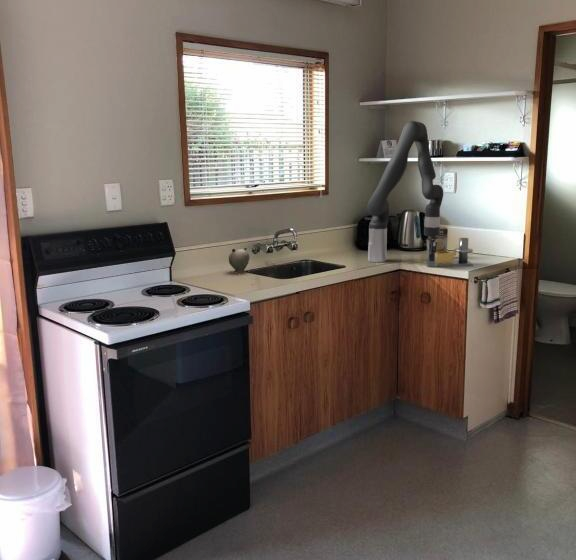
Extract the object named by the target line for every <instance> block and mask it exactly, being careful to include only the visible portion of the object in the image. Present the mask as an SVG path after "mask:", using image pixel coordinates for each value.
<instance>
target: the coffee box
mask: <svg viewBox="0 0 576 560" xmlns="http://www.w3.org/2000/svg"><path fill="white" fill-rule="evenodd" d="M435 239H436V242H437V247H436V251H448V249H447V248H448V228H446V227H440V235H439V236H435Z"/></svg>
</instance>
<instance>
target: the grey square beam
mask: <svg viewBox="0 0 576 560" xmlns="http://www.w3.org/2000/svg"><path fill="white" fill-rule="evenodd" d="M430 247H431V246H430ZM432 250H434V249H432ZM426 251H427V254H426V267H428V268H435V267H436V265H435V254H434V261H430V253H429V252H430V249H429V245H428V248H427V247H426Z"/></svg>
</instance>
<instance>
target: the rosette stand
mask: <svg viewBox="0 0 576 560" xmlns="http://www.w3.org/2000/svg"><path fill="white" fill-rule="evenodd" d="M458 242H459V243H458V248H457V247H456V248H454V250H453V251H450V250H447V251H436V253H435V267H474V262H471V261H470V260H468V259H469V256H468V255H469V253H470V254H471V253H473V252H474V250H473V248H469V237H459V239H458ZM457 253H458V259H454V257H455V256H457Z"/></svg>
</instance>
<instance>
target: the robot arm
mask: <svg viewBox="0 0 576 560" xmlns="http://www.w3.org/2000/svg"><path fill="white" fill-rule="evenodd" d="M427 129H428V128H427V126H426V125H425V123H423V122H420V121H416V120H415V121H414V120H411V121H408V122H407V123H406V124H405V125H404V126H403V128H402V131H401V135H400V137H399V139H398V142H397V145H396V147H395V149H394V151H393V153H392V155H391V157H390V159H389V161H388V163H387V166H386V167H385V169H384V172H383V174H382V176H381V178H380V180H379V182H378V184H377V187H376V189H375V190H374V191H373V193H372V195H371V197H370V198H369V200H368V201H367V205H366V210H367V213H368V214H369V215H370V216H371V220H370V222H369V225H368V244H367V245H368V247H367V248H368V249H367V251H368V252H367V256H368V257H367V260H368V262H371V263H372V262H373V263H383V262H386V261H387V243H388V241H387V239H388V238H387V237H388V235H387V234H388V223H389V220H390V219H389V218H390V217H389V216H390V205H389V204H390V203H389V201H388V198H389V195H390V193H391V192H392V191H393V190H394V188H395V187H396V186H397V185H398V183H400V181H401V179H402V178H403V176H404V174H405V172H406V169H407V167H408V158H409V153H410V150H411V148H412V146H413V144H415V146H416V149H417V167H418V171H419V175H420V178H421V193H422V196H423V197H424V199H426V200H428V201H429V204H426V206H425V209H424V220H423V221H424V223H423V225H424V226H423V227H424V228H423V235H424V236H425V237H427V238H426V239H425V242H426V249H427V248H428V245H429V249H430V252H429V253H430V261H434V254H435V253H436V247H437V242H436V239H435V236H439V235H440V228H441V217H440V214H441V207H442V202H443V199H444V188H443V187H442V186H441V185H440V184H433V183H434V180H435V179H436V175H437V174H436V170H435V168H434V167H435V166H434V164H433V159H432V157H431V151H430V145H429V137H428V130H427ZM430 246H431V247H430ZM432 249H434V250H432Z"/></svg>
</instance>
